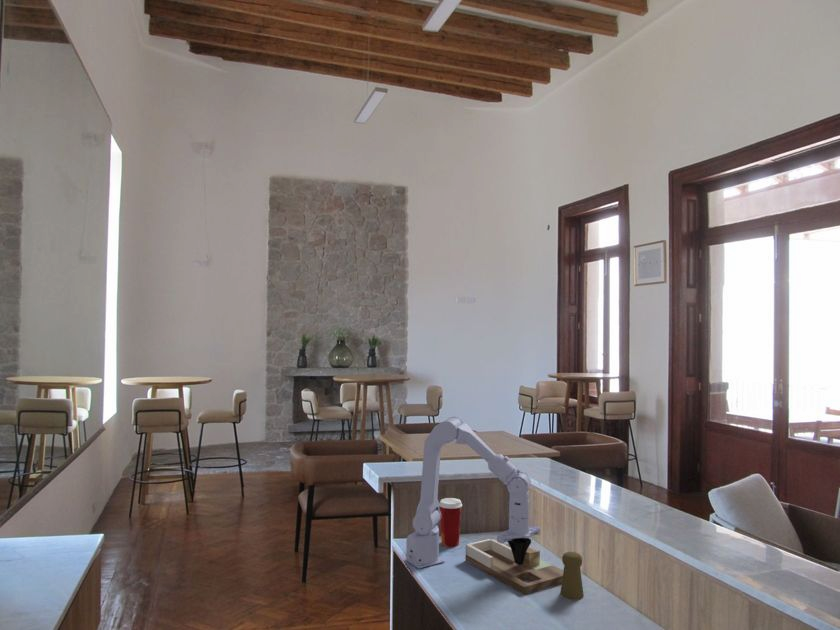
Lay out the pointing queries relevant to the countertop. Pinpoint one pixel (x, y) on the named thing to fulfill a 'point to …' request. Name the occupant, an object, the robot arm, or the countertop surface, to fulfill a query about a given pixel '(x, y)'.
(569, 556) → the cork
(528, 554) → the block
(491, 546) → the cubby
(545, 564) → the pad
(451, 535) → the paper cup
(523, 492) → the robot arm
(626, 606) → the countertop surface
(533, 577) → the board
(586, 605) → the countertop surface
